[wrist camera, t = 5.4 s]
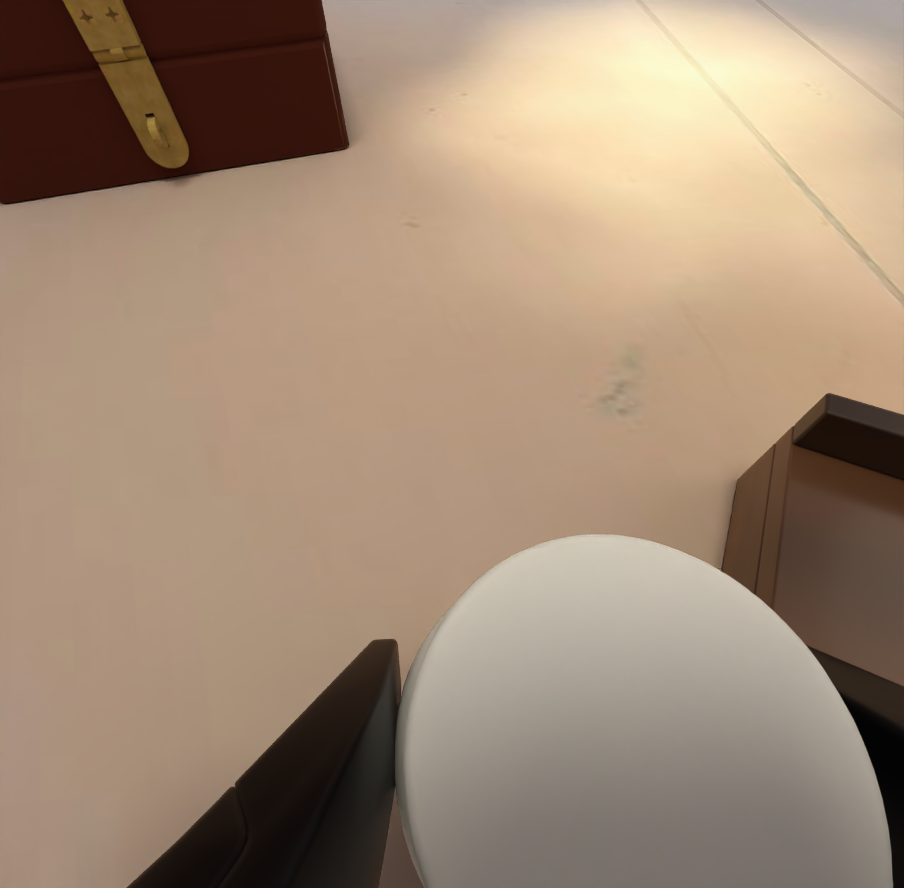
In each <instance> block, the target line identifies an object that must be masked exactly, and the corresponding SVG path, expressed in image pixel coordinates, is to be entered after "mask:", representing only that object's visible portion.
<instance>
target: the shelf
mask: <svg viewBox="0 0 904 888" xmlns="http://www.w3.org/2000/svg"><path fill="white" fill-rule="evenodd" d="M722 572H723V573H725V574H727V575H728V576H730V577H731V578H733V579H734V580H736V581H737V582H739V583H740V584H741V585H743V586H744V587H745V588H747V589H748V590H749V591H750V592H751V593H753V594H754V595H756V596H757V597H758V598H760V599H761V600H762V601H763V602H764V603H765V604H766V605H767V606H768V607H770V608H771V609H772V610H773V611H774V612H775V613H776V614H777V615H778V616H779V617H780V618H781V619H782V620H783V621H784V622H785V623H786V624H787V625H788V626H789V627H790V628H791V629H792V630H793V631H794V633H795V634H796V635H797V636H798V637H799V638H800V639H801V640H802V641H803V643H804V644H805V645H808V646H810V647H812V648H815V649H817V650H819V651H822V652H824V653H826V654H829V655H831V656H833V657H836V658H838V659H840V660H843V661H845V662H848V663H850V664H852V665H855V666H857V667H859V668H862V669H864V670H866V671H869V672H871V673H873V674H876V675H878V676H881V677H883V678H885V679H888V680H890V681H892V682H895V683H897V684H899V685H902V686H904V415H902V414H899V413H896V412H892V411H889V410H885V409H882V408H879V407H875V406H872V405H868V404H865V403H862V402H858V401H855V400H852V399H848V398H845V397H841V396H838V395H835V394H831V393H827V394H826V395H825V396H824V397H823V398H822V399H821V400H820V401H819V402H818V403H817V404H815V405H814V406H813V407H812V408H811V409H810V410H809V411H808V412H807V413H806V414H805V415H804V416H803V417H802V418H801V419H800V420H799V421H798V422H797V423H796V424H795V426H792V427H791V428H790V429H789V430H788V431H787V432H786V433H785V434H784V435H783V436H782V437H781V438H780V439H779V440H778V441H777V442H776V443H775V444H774V445H773V446H772V447H771V448H770V449H769V450H768V451H767V452H766V453H765V454H764V455H763V456H762V457H761V458H759V459H758V460H757V461H756V462H755V463H754V464H753V465H752V466H751V467H750V468H749V469H748V470H747V471H746V472H745V473H744V474H743V475H742V476H741V477H740V478H739V479H738V483H737V488H736V494H735V500H734V505H733V511H732V517H731V522H730V528H729V534H728V540H727V545H726V551H725V557H724V562H723V568H722Z"/></svg>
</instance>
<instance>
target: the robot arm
mask: <svg viewBox="0 0 904 888" xmlns="http://www.w3.org/2000/svg"><path fill="white" fill-rule="evenodd" d="M806 646H807V647H808V649H809V650H810V651H811V652H812V654H813V655H814V656H815V658H816V659H817V660H818V662H819V663H820V665H821V666H822V667H823V669H824V670H825V672H826V674H827V675H828V677H829V678H830V680H831V682H832V683H833V685H834V686H835V688H836V690H837V691H838V693H839V695H840V696H841V698H842V700H843V702H844V704H845V705H846V707H847V709H848V711H849V713H850V714H851V716H852V718H853V720H854V722H855V724H856V726H857V728H858V731H859V733H860V735H861V737H862V740H863V742H864V745H865V747H866V750H867V752H868V755H869V758H870V760H871V763H872V766H873V769H874V771H875V775H876V778H877V782H878V785H879V789H880V792H881V796H882V799H883V804H884V809H885V814H886V819H887V824H888V829H889V837H890V845H891V856H892V879H893V888H904V686H902V685H899V684H897V683H895V682H892V681H890V680H888V679H885V678H883V677H881V676H878V675H876V674H873V673H871V672H869V671H866V670H864V669H862V668H859V667H857V666H855V665H852V664H850V663H848V662H845V661H843V660H840V659H838V658H836V657H833V656H831V655H829V654H826V653H824V652H822V651H819V650H817V649H815V648H812V647H810V646H808V645H806ZM400 701H401V678H400V666H399V654H398V645H397V641H396V640H395V639H381V640H373V641H372V642H371V643H370V644H369V645H368V646H367V647H366V648H365V649H364V650H363V651H362V652H361V653H360V654H359V655H358V656H357V657H356V658H355V659H354V660H353V661H352V662H351V663H350V664H349V665H348V666H347V667H346V668H345V669H344V671H343V672H342V673H341V674H340V675H339V676H338V677H337V678H336V679H335V680H334V681H333V682H332V683H331V684H330V685H329V686H328V687H327V688H326V689H325V690H324V691H323V692H322V693H321V694H320V695H319V696H318V697H317V698H316V699H315V701H314V702H313V703H312V704H311V705H310V706H309V707H308V708H307V709H306V710H305V711H304V712H303V713H302V714H301V715H300V716H299V717H298V718H297V719H296V720H295V721H294V722H293V723H292V724H291V725H290V726H289V727H288V728H287V729H286V731H285V732H284V733H283V734H282V735H281V736H280V737H279V738H278V739H277V740H276V741H275V742H274V743H273V744H272V745H271V746H270V747H269V748H268V749H267V750H266V751H265V752H264V753H263V754H262V755H261V756H260V757H259V758H258V759H257V761H256V762H255V763H254V764H253V765H252V766H251V767H250V768H249V769H248V770H247V771H246V772H245V773H244V774H243V775H242V776H241V777H240V778H239V779H238V780H237V781H236V783H235V787H230V788H229V789H228V790H227V791H226V792H225V793H224V794H223V795H222V796H221V797H220V799H219V800H218V801H217V802H216V803H215V804H214V805H213V806H212V807H211V808H210V809H209V810H208V811H207V812H206V813H205V814H204V815H203V816H202V817H201V818H200V819H199V820H198V821H197V822H196V823H195V824H194V825H193V826H192V827H191V828H190V829H189V830H188V831H187V832H186V833H185V834H184V835H183V836H182V837H181V838H180V839H179V840H178V841H177V842H176V843H175V844H174V845H172V846H171V847H170V848H169V849H168V850H167V851H166V852H165V853H164V854H163V855H162V856H161V857H159V858H158V859H157V860H156V861H155V862H154V863H153V864H152V865H151V866H150V867H149V868H148V869H146V870H145V871H144V872H143V873H142V874H141V875H140V876H139V877H138V878H137V879H136V880H134V881H133V882H132V883H131V884H130V885H129V886H128V887H127V888H378V887H379V881H380V875H381V870H382V864H383V858H384V852H385V846H386V840H387V834H388V828H389V822H390V816H391V810H392V805H393V797H394V790H395V735H396V723H397V715H398V710H399V705H400Z"/></svg>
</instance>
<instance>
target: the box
mask: <svg viewBox="0 0 904 888" xmlns="http://www.w3.org/2000/svg"><path fill="white" fill-rule="evenodd" d="M348 145H349V142H348V136H347V131H346V126H345V121H344V116H343V110H342V105H341V100H340V95H339V89H338V84H337V79H336V74H335V68H334V63H333V58H332V53H331V47H330V42H329V37H328V33H327V30H326V21H325V16H324V11H323V6H322V0H0V202H1V203H13V202H19V201H25V200H31V199H38V198H44V197H50V196H56V195H62V194H68V193H75V192H81V191H87V190H93V189H99V188H105V187H112V186H118V185H124V184H130V183H136V182H143V181H149V180H155V179H161V178H167V177H173V176H180V175H186V174H192V173H198V172H204V171H211V170H217V169H223V168H229V167H235V166H241V165H248V164H254V163H260V162H266V161H272V160H278V159H285V158H291V157H297V156H303V155H309V154H316V153H322V152H328V151H334V150H340V149H344V148H346V147H347V146H348Z"/></svg>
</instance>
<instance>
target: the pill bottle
mask: <svg viewBox="0 0 904 888" xmlns="http://www.w3.org/2000/svg"><path fill="white" fill-rule="evenodd" d="M395 787H396V796H397V803H398V807H399V812H400V819H401V823H402V828H403V832H404V836H405V840H406V844H407V847H408V851H409V854H410V857H411V859H412V862H413V864H414V866H415V869H416V871H417V873H418V876H419V878H420V880H421V883H422V885H423V887H424V888H893V879H892V856H891V845H890V837H889V829H888V824H887V819H886V814H885V809H884V804H883V799H882V796H881V792H880V789H879V785H878V782H877V778H876V775H875V771H874V769H873V766H872V763H871V760H870V758H869V755H868V752H867V750H866V747H865V745H864V742H863V740H862V737H861V735H860V733H859V731H858V728H857V726H856V724H855V722H854V720H853V718H852V716H851V714H850V713H849V711H848V709H847V707H846V705H845V704H844V702H843V700H842V698H841V696H840V695H839V693H838V691H837V690H836V688H835V686H834V685H833V683H832V682H831V680H830V678H829V677H828V675H827V674H826V672H825V670H824V669H823V667H822V666H821V665H820V663H819V662H818V660H817V659H816V658H815V656H814V655H813V654H812V652H811V651H810V650H809V649H808V647H807V646H806V645H805V644H804V643H803V641H802V640H801V639H800V638H799V637H798V636H797V635H796V634H795V633H794V631H793V630H792V629H791V628H790V627H789V626H788V625H787V624H786V623H785V622H784V621H783V620H782V619H781V618H780V617H779V616H778V615H777V614H776V613H775V612H774V611H773V610H772V609H771V608H770V607H768V606H767V605H766V604H765V603H764V602H763V601H762V600H761V599H760V598H758V597H757V596H756V595H754V594H753V593H751V592H750V591H749V590H748V589H747V588H745V587H744V586H743V585H741V584H740V583H739V582H737V581H736V580H734V579H733V578H731V577H730V576H728V575H727V574H725V573H723V572H722V571H720V570H718V569H717V568H715V567H713V566H711V565H710V564H708V563H706V562H704V561H702V560H700V559H698V558H695V557H693V556H691V555H689V554H686V553H684V552H682V551H679V550H677V549H674V548H671V547H669V546H666V545H663V544H659V543H656V542H653V541H649V540H644V539H639V538H634V537H628V536H621V535H610V534H599V535H578V536H570V537H564V538H559V539H554V540H549V541H546V542H543V543H540V544H537V545H534V546H532V547H529V548H527V549H525V550H522V551H520V552H518V553H516V554H514V555H512V556H510V557H509V558H507V559H505V560H503V561H502V562H500V563H498V564H497V565H496V566H494V567H493V568H491V569H490V570H489V571H487V572H486V573H485V574H483V575H482V576H481V577H480V578H478V579H477V580H476V581H475V582H474V583H473V584H472V585H471V586H470V587H469V588H468V589H467V590H466V591H465V592H464V593H463V594H462V595H461V597H460V598H459V599H458V600H457V602H456V603H455V604H454V605H453V606H452V607H451V608H450V609H449V610H448V611H447V612H446V613H445V614H444V615H443V616H442V617H441V619H440V620H439V621H438V622H437V623H436V625H435V626H434V627H433V629H432V630H431V632H430V633H429V634H428V636H427V637H426V639H425V641H424V642H423V644H422V646H421V647H420V649H419V651H418V653H417V655H416V657H415V659H414V661H413V663H412V666H411V668H410V670H409V672H408V675H407V678H406V681H405V684H404V687H403V692H402V696H401V701H400V705H399V710H398V715H397V723H396V735H395Z"/></svg>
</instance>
